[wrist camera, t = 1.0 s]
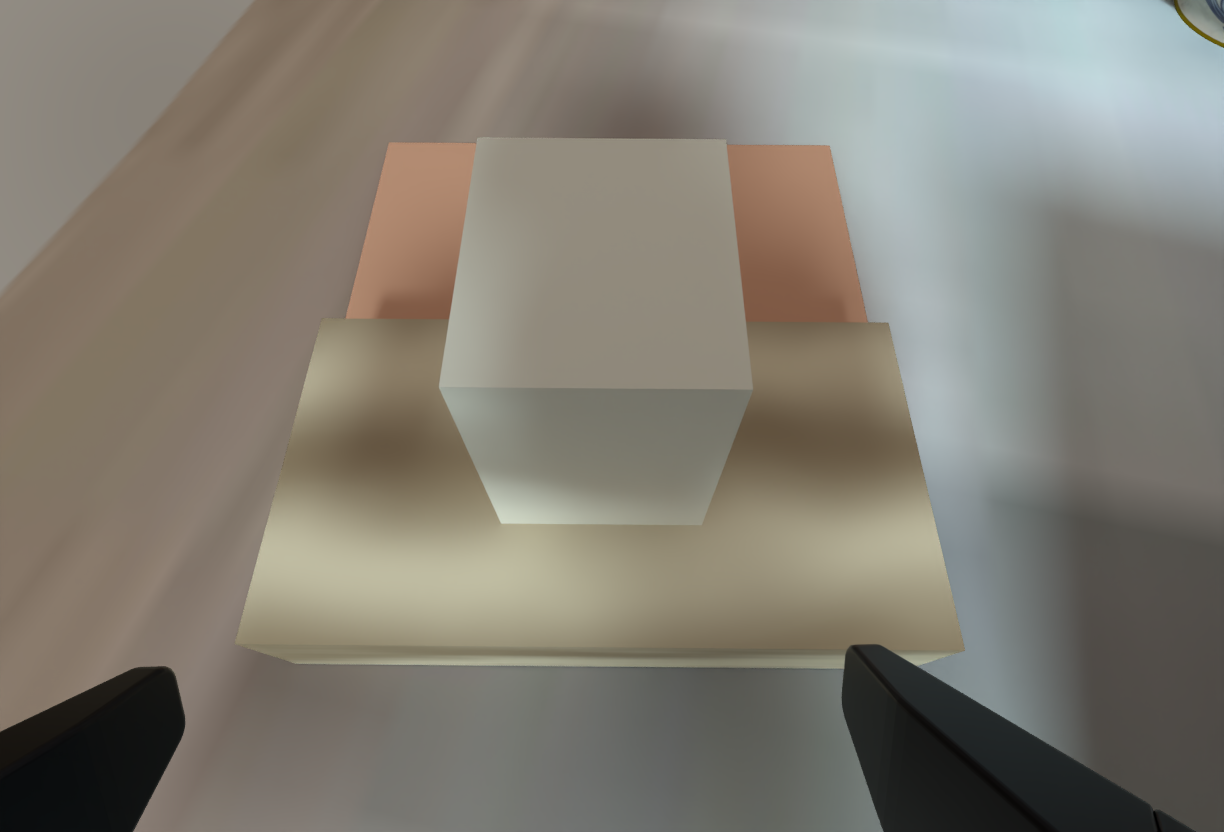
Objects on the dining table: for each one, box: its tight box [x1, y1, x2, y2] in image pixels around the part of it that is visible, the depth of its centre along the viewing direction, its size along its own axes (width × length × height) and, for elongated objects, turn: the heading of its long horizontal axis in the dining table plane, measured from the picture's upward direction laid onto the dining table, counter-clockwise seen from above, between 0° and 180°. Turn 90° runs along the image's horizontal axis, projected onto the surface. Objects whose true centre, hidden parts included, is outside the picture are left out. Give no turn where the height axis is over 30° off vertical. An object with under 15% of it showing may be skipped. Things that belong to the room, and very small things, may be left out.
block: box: [439, 138, 753, 525], centre depth 18 cm, size 7×6×8 cm
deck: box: [235, 318, 965, 669], centre depth 22 cm, size 11×20×4 cm, turn 90°
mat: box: [346, 143, 868, 323], centre depth 30 cm, size 13×22×1 cm, turn 90°
